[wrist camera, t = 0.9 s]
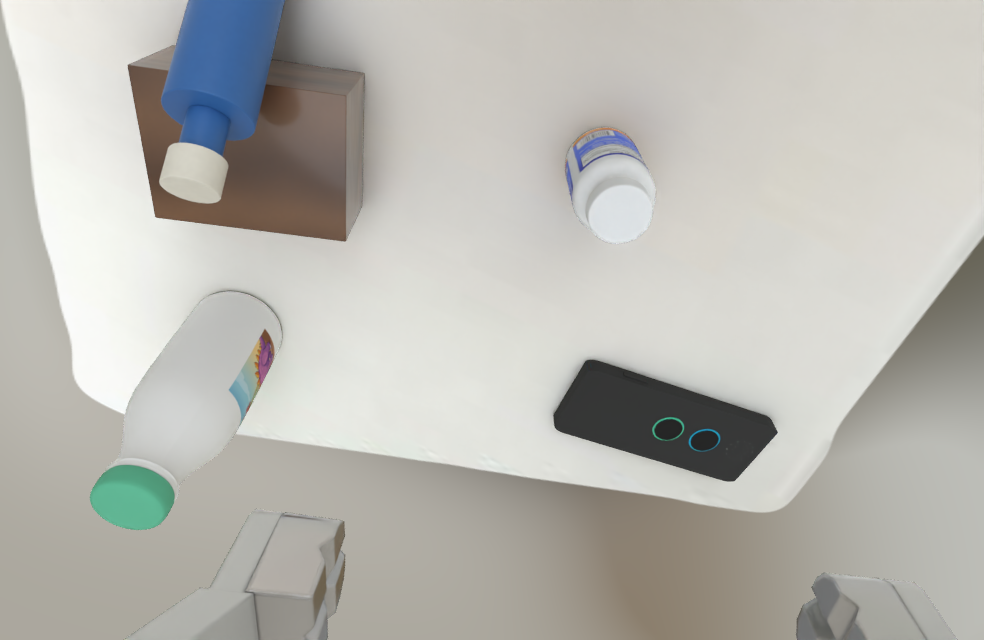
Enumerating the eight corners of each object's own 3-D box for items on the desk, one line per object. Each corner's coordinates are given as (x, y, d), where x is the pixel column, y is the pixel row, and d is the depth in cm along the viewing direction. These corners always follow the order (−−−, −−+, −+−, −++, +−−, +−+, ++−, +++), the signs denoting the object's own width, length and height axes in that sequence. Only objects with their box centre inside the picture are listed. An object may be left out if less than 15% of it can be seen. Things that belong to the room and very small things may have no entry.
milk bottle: (178, 324, 55) (37, 507, 38) (226, 271, 52) (96, 445, 35) (252, 373, 58) (151, 563, 41) (302, 326, 55) (214, 511, 38)
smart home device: (732, 485, 63) (551, 431, 59) (727, 472, 64) (550, 419, 61) (782, 430, 59) (590, 368, 55) (775, 417, 60) (588, 356, 56)
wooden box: (171, 45, 42) (127, 64, 37) (364, 72, 43) (346, 95, 38) (191, 184, 48) (155, 217, 43) (362, 206, 48) (345, 241, 43)
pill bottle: (617, 205, 48) (640, 266, 40) (552, 182, 47) (562, 240, 39) (650, 139, 45) (683, 191, 37) (582, 113, 44) (600, 161, 36)
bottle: (218, -101, 37) (76, -97, 25) (299, -88, 38) (198, -78, 25) (240, 123, 45) (139, 212, 33) (307, 132, 45) (232, 223, 33)
